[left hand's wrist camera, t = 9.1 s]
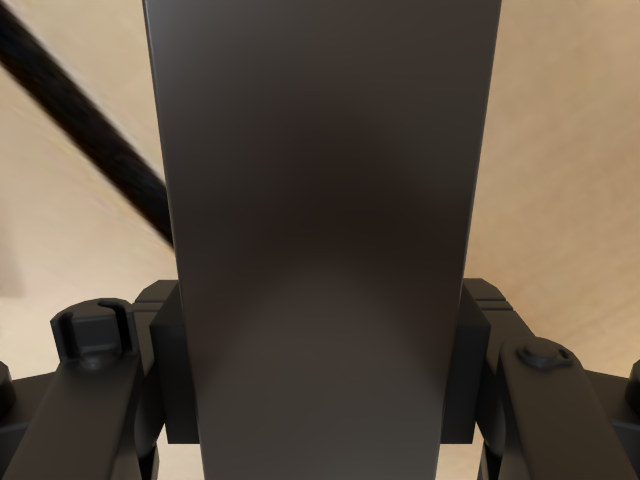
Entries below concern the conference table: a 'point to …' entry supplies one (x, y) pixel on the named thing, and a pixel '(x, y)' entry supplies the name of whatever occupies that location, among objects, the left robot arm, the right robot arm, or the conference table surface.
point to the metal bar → (320, 222)
